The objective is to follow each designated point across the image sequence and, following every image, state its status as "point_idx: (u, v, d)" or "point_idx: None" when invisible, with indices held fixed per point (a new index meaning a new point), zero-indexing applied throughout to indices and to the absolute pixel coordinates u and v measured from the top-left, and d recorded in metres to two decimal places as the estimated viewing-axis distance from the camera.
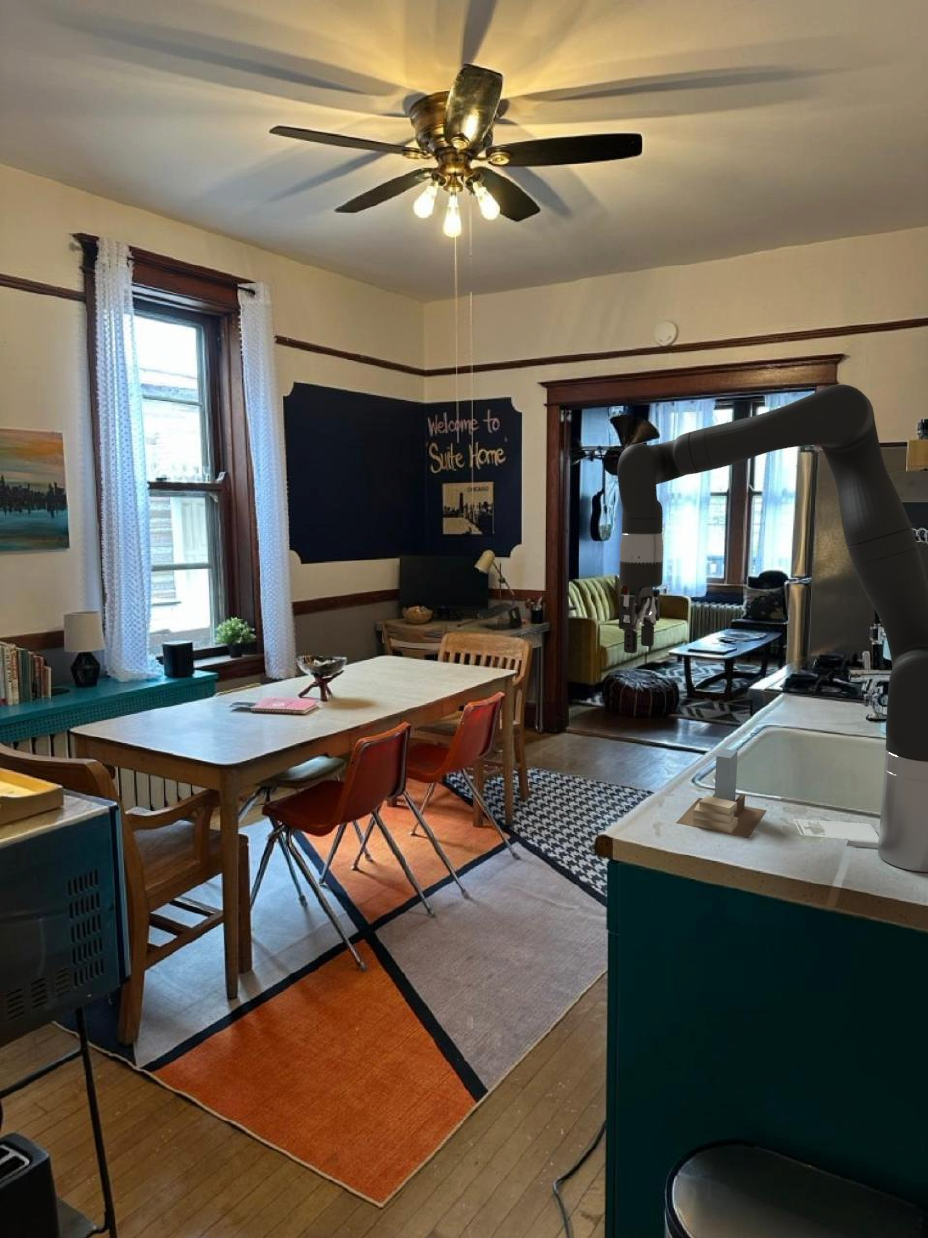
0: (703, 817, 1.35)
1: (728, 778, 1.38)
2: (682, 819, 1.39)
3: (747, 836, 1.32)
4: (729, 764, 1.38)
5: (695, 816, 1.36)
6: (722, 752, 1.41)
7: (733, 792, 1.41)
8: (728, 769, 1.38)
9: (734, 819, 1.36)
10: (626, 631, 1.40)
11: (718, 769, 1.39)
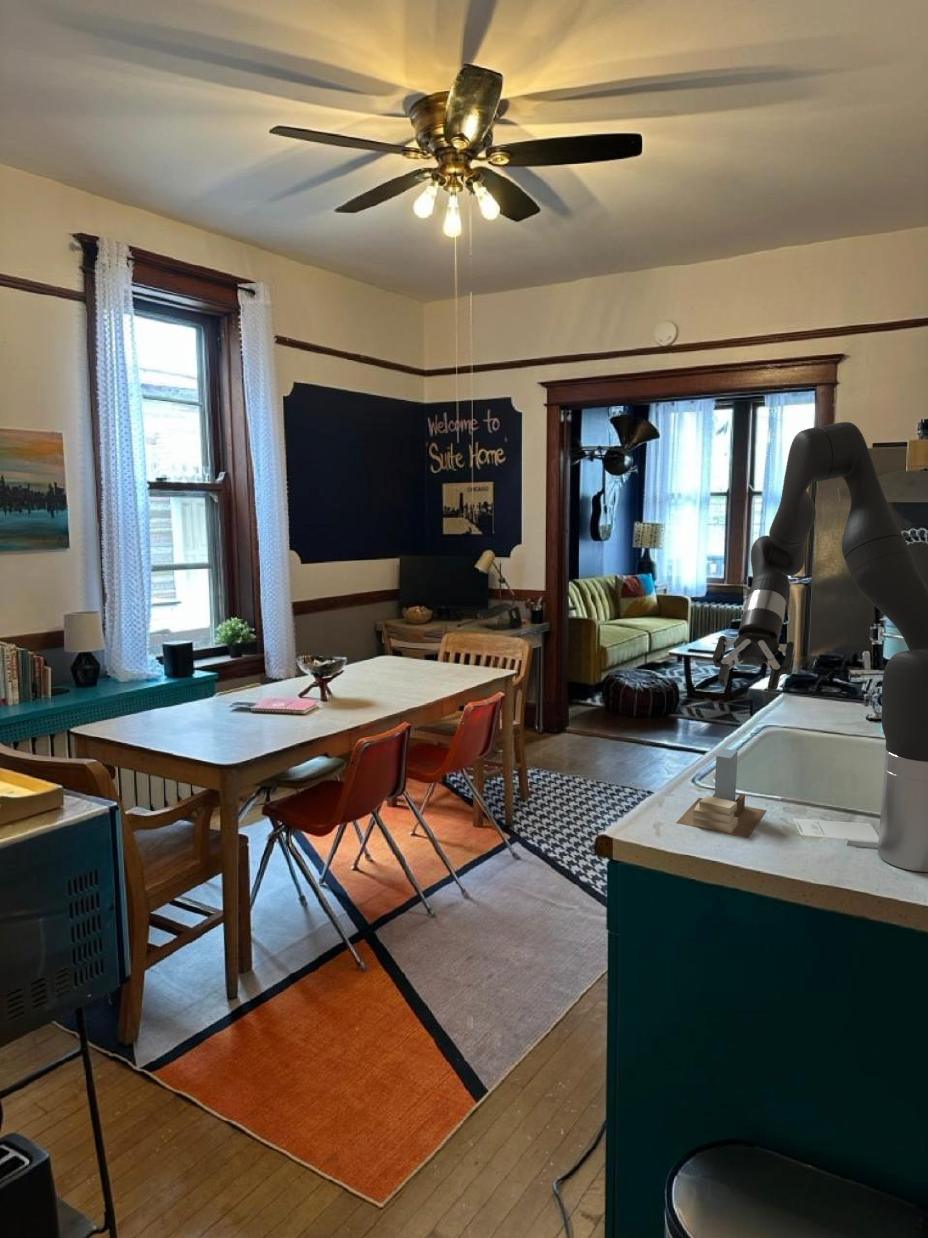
0: (703, 817, 1.35)
1: (728, 778, 1.38)
2: (682, 819, 1.39)
3: (747, 836, 1.32)
4: (729, 764, 1.38)
5: (695, 816, 1.36)
6: (722, 752, 1.41)
7: (733, 792, 1.41)
8: (728, 769, 1.38)
9: (734, 819, 1.36)
10: None
11: (718, 769, 1.39)
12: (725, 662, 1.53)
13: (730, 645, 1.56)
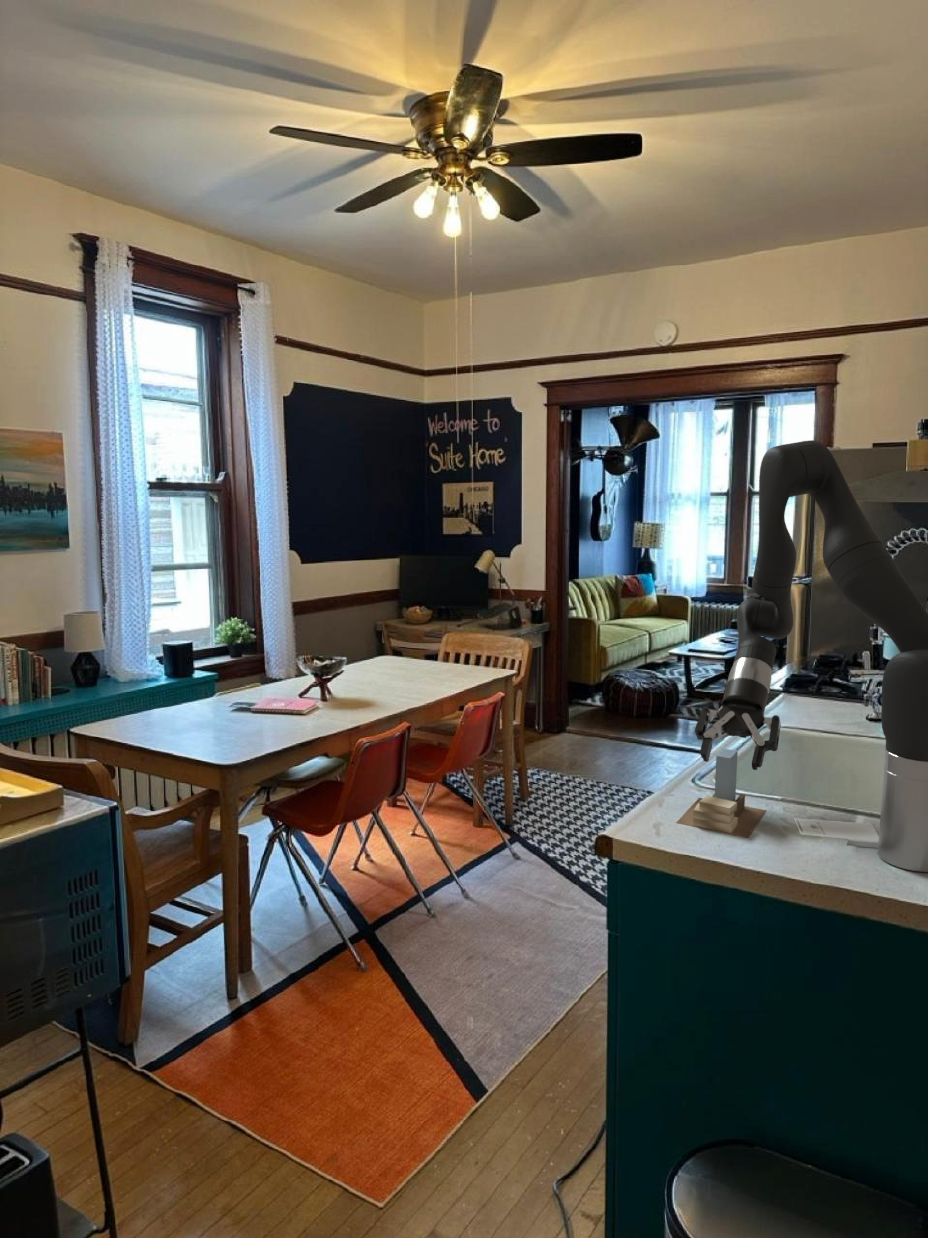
0: (703, 817, 1.35)
1: (728, 778, 1.38)
2: (682, 819, 1.39)
3: (747, 836, 1.32)
4: (729, 764, 1.38)
5: (695, 816, 1.36)
6: (722, 752, 1.41)
7: (733, 792, 1.41)
8: (728, 769, 1.38)
9: (734, 819, 1.36)
10: (703, 740, 1.47)
11: (718, 769, 1.39)
12: (708, 735, 1.46)
13: (713, 716, 1.49)
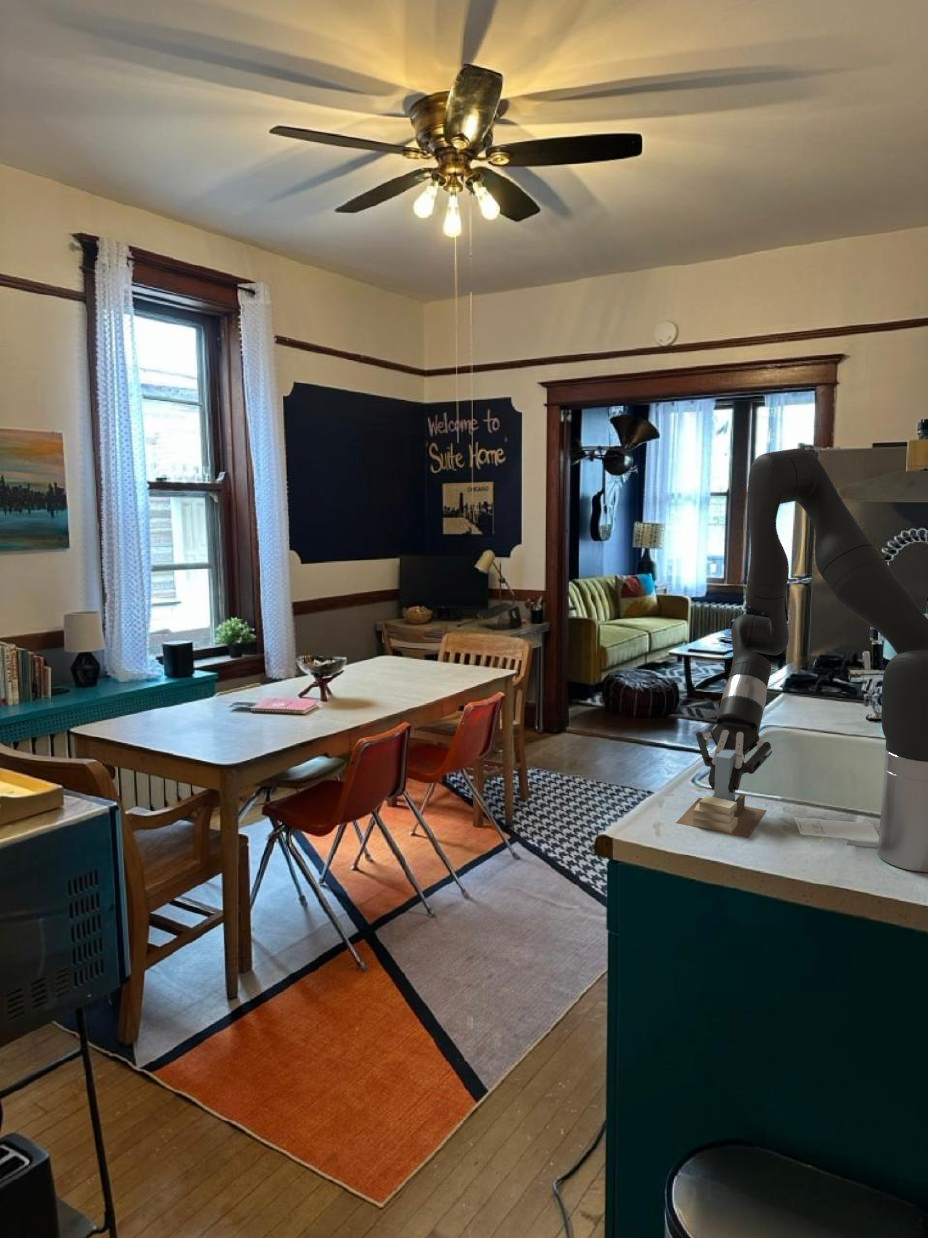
0: (703, 817, 1.35)
1: (727, 778, 1.38)
2: (682, 819, 1.39)
3: (747, 836, 1.32)
4: (728, 764, 1.38)
5: (695, 816, 1.36)
6: (721, 752, 1.41)
7: None
8: (728, 769, 1.38)
9: (734, 819, 1.36)
10: (711, 767, 1.43)
11: (717, 769, 1.39)
12: None
13: (709, 739, 1.46)
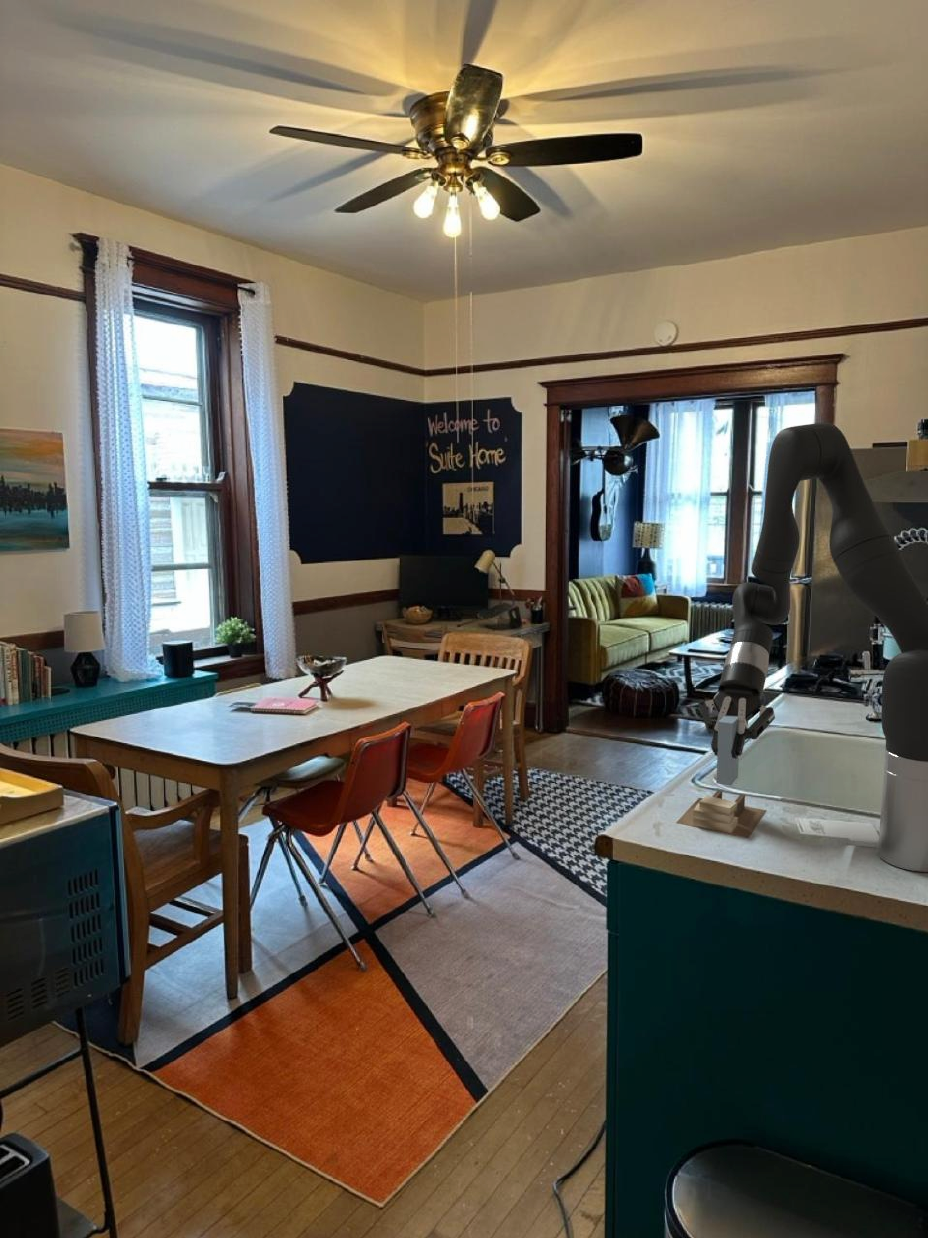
0: (703, 817, 1.35)
1: (730, 743, 1.37)
2: (682, 819, 1.39)
3: (747, 836, 1.32)
4: (731, 729, 1.37)
5: (695, 816, 1.36)
6: (724, 718, 1.40)
7: None
8: (730, 734, 1.37)
9: (734, 819, 1.36)
10: (714, 734, 1.42)
11: (720, 735, 1.38)
12: None
13: (711, 706, 1.45)
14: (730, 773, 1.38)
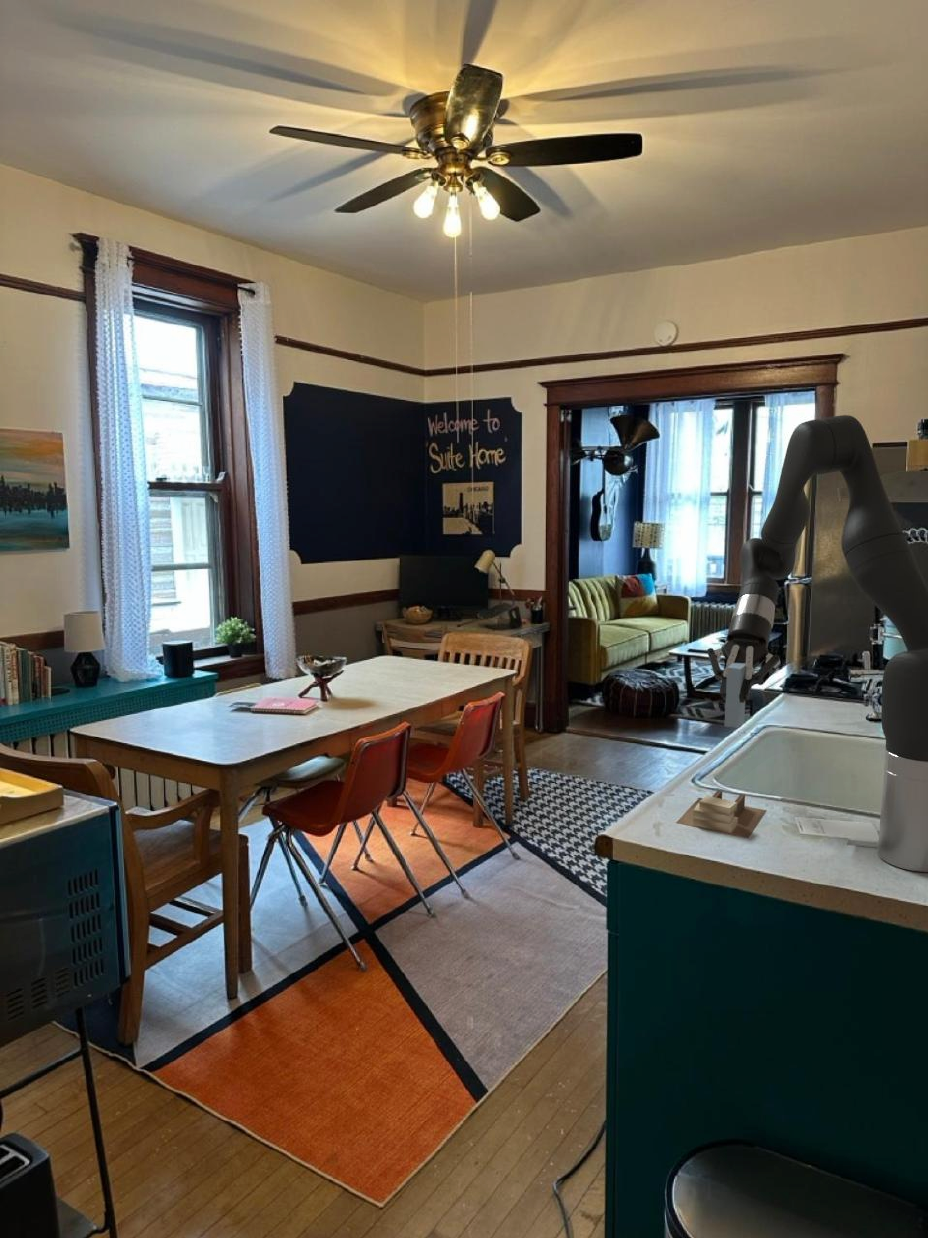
0: (703, 817, 1.35)
1: (738, 688, 1.45)
2: (682, 819, 1.39)
3: (747, 836, 1.32)
4: (739, 674, 1.44)
5: (695, 816, 1.36)
6: (732, 664, 1.47)
7: (743, 703, 1.48)
8: (739, 679, 1.45)
9: (734, 819, 1.36)
10: (722, 680, 1.50)
11: (729, 680, 1.45)
12: None
13: (720, 655, 1.53)
14: (737, 716, 1.46)
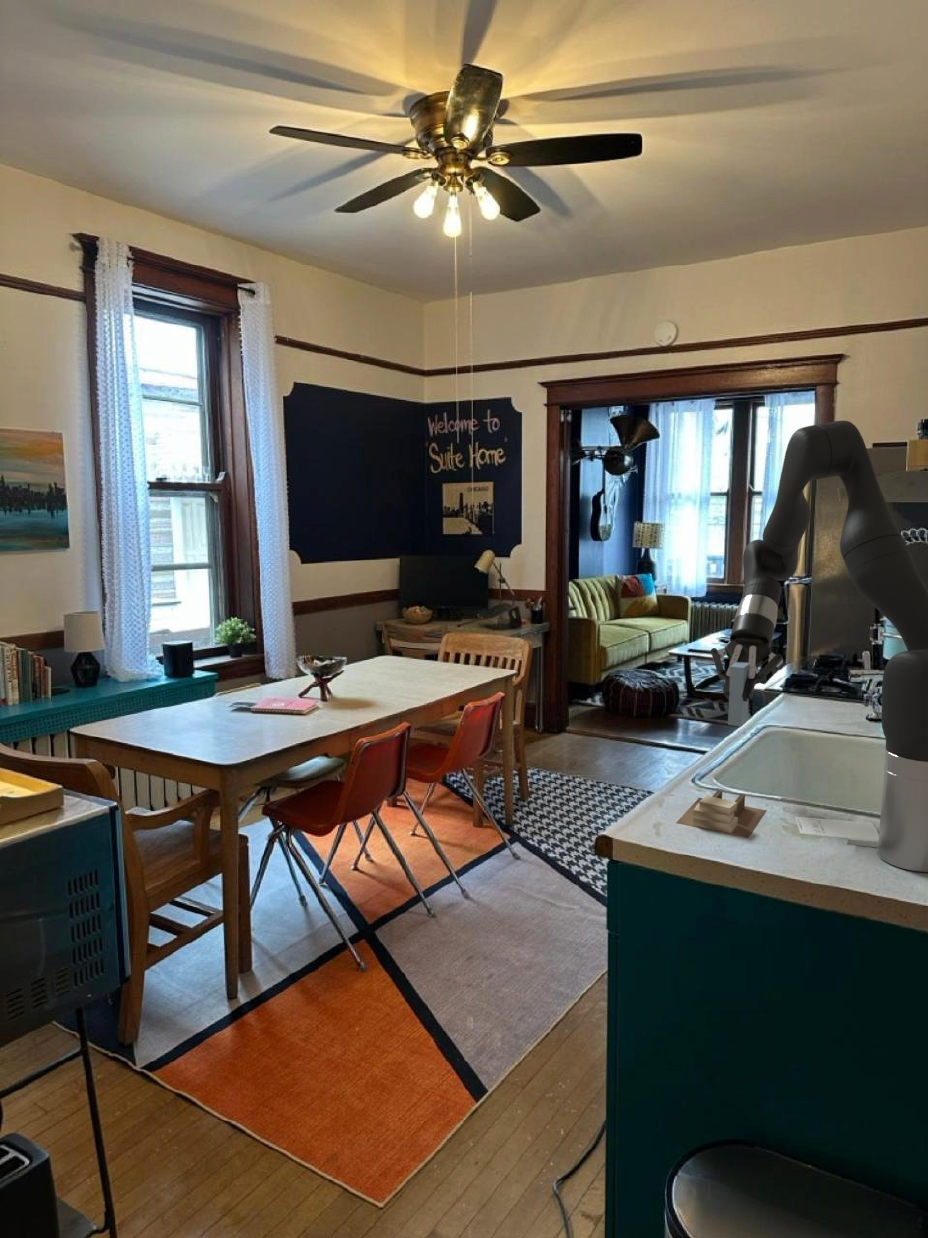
0: (703, 817, 1.35)
1: (741, 687, 1.46)
2: (682, 819, 1.39)
3: (747, 836, 1.32)
4: (742, 673, 1.46)
5: (695, 816, 1.36)
6: (735, 664, 1.49)
7: (746, 702, 1.50)
8: (742, 678, 1.46)
9: (734, 819, 1.36)
10: (725, 679, 1.51)
11: (732, 679, 1.47)
12: None
13: (723, 654, 1.54)
14: (741, 715, 1.47)
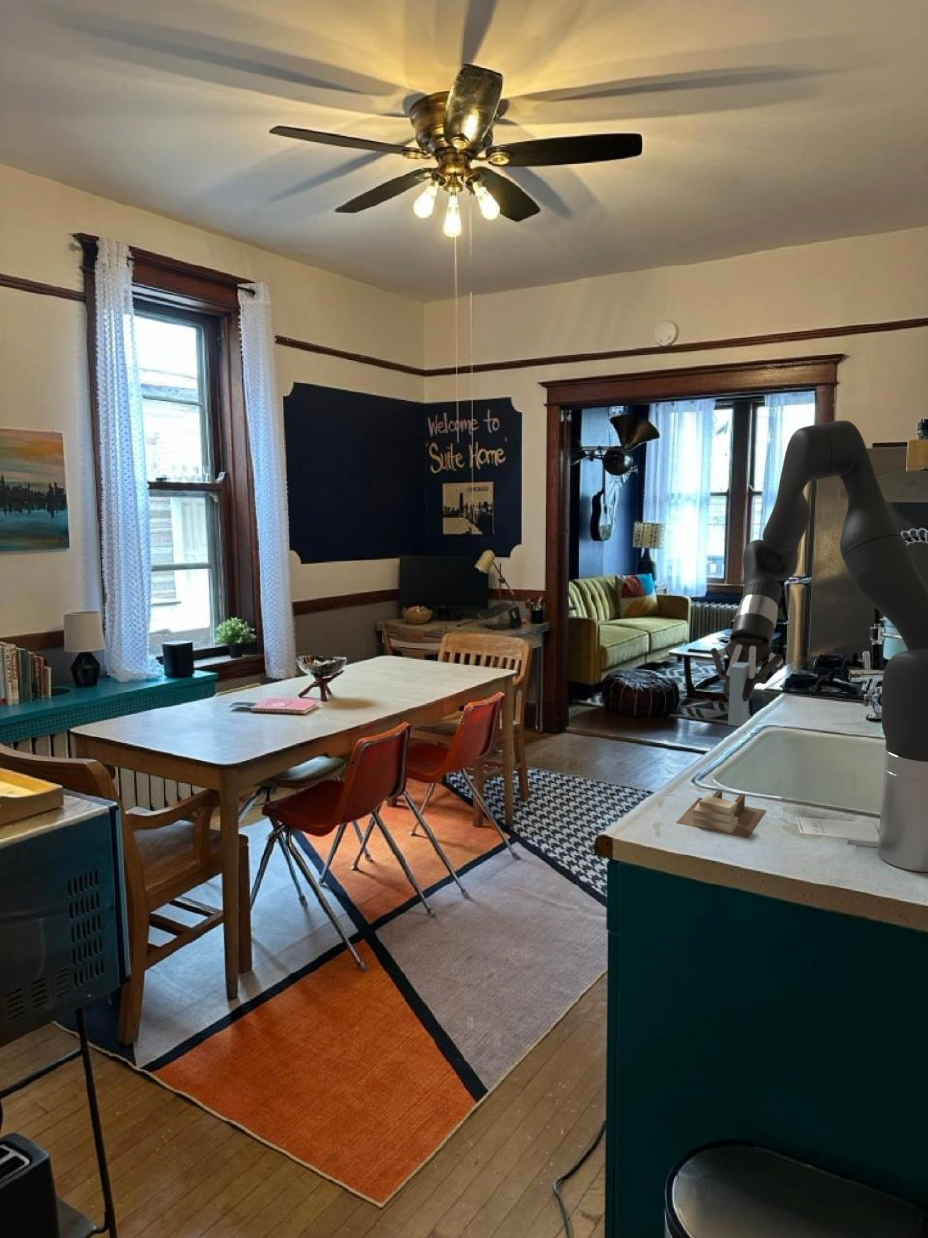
0: (703, 817, 1.35)
1: (741, 687, 1.46)
2: (682, 819, 1.39)
3: (747, 836, 1.32)
4: (742, 673, 1.46)
5: (695, 816, 1.36)
6: (735, 664, 1.49)
7: (746, 702, 1.50)
8: (742, 678, 1.46)
9: (734, 819, 1.36)
10: (725, 679, 1.51)
11: (732, 679, 1.47)
12: None
13: (723, 654, 1.54)
14: (741, 715, 1.47)
